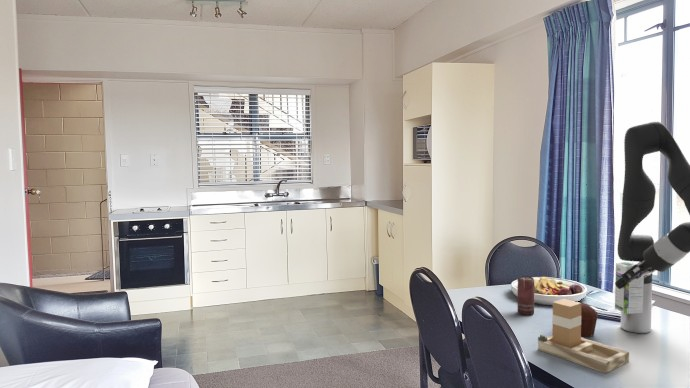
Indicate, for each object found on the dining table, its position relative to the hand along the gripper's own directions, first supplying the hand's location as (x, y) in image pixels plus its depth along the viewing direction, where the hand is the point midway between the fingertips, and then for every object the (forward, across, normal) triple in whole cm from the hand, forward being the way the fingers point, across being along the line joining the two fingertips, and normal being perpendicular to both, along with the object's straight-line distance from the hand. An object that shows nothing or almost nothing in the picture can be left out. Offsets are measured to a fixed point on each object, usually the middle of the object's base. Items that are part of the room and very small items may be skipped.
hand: (624, 283), depth 159 cm
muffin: (+29, -7, +3) cm, 30 cm away
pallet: (+21, +10, +11) cm, 26 cm away
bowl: (+52, -36, -20) cm, 66 cm away
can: (+46, -10, -14) cm, 49 cm away
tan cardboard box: (+24, +10, +6) cm, 27 cm away
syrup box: (+5, 0, +7) cm, 8 cm away
